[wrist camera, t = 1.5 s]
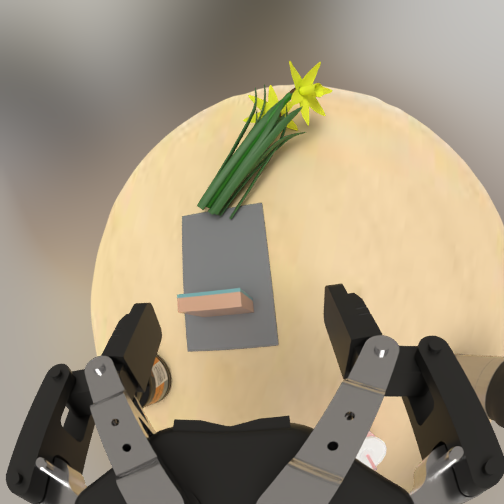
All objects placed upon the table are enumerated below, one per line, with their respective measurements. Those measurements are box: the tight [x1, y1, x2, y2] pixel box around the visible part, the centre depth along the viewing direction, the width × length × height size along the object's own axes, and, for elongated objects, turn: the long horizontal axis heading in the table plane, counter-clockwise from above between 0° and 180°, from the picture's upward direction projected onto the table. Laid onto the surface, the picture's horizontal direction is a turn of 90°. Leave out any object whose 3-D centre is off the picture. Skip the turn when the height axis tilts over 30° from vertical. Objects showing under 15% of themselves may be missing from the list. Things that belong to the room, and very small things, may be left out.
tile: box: [177, 288, 254, 317], centre depth 41 cm, size 2×9×11 cm, turn 95°
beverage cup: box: [356, 431, 386, 470], centre depth 30 cm, size 6×6×14 cm
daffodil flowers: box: [197, 61, 332, 219], centre depth 48 cm, size 17×15×35 cm
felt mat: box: [182, 203, 278, 351], centre depth 48 cm, size 26×16×1 cm, turn 5°
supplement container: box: [135, 355, 170, 408], centre depth 40 cm, size 10×10×12 cm
